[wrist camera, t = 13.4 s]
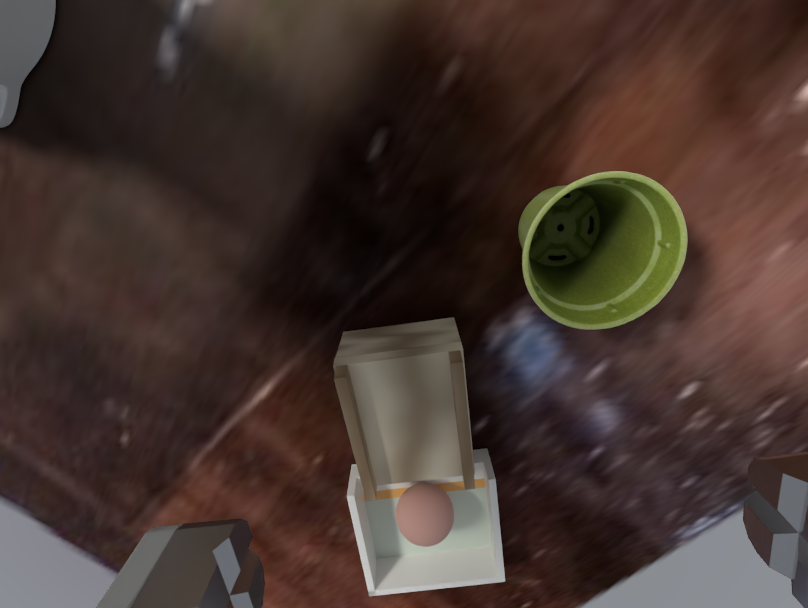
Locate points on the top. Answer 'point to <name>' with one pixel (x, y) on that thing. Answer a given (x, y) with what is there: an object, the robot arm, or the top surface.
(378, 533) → the tray
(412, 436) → the launch ramp
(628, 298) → the plant pot
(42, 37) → the robot arm
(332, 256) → the top surface
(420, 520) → the rubber ball
